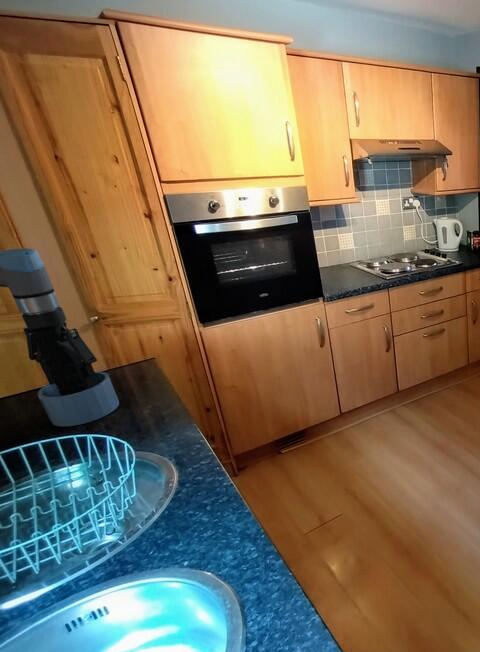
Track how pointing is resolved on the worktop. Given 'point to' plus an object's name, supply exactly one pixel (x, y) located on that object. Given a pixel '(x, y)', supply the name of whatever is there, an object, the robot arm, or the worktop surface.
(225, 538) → the worktop surface
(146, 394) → the worktop surface
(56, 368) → the handle grip
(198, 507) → the worktop surface
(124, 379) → the worktop surface
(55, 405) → the blue round bowl
